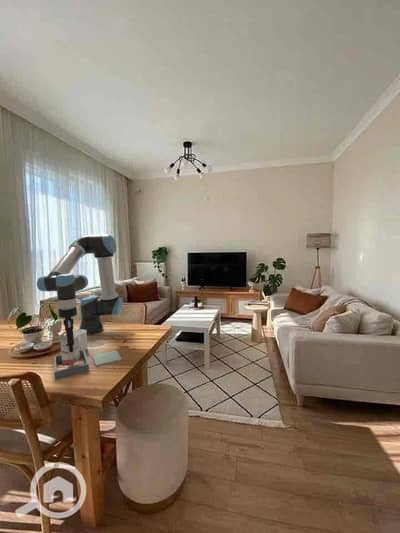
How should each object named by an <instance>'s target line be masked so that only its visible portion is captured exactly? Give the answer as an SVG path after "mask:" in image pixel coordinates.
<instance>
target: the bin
mask: <svg viewBox="0 0 400 533" xmlns="http://www.w3.org/2000/svg"><path fill="white" fill-rule="evenodd" d="M79 353H80V358H79V359H81V358H83V361H84V364H80V365H76V366H72V367H71V366H70V367H67V368H63V369H61V370H60V369H58V370H57V364H59V363H62V356H61V354H58V355H54V356H53V365H54V366H53V371H54V374H53V375H54V381H56V380H61V379H65V378H68V377H69V378H70V377H73V376H76V375H80V374H85V373H89V372H90V366H89V365H90V364H89V360H88V357H87V354H86V350H82V351H79Z"/></svg>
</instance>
